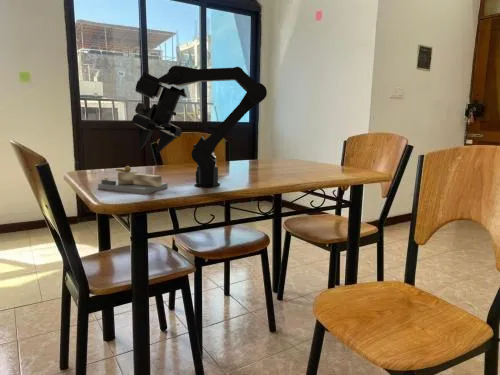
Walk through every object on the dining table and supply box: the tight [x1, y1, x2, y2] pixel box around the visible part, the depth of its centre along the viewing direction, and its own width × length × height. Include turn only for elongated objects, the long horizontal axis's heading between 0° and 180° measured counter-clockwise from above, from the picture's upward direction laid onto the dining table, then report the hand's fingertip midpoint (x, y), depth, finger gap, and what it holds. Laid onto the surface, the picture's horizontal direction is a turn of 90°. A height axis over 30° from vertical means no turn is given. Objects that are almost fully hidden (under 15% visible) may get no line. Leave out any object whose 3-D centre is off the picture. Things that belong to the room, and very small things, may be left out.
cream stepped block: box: [115, 165, 163, 187], centre depth 116 cm, size 16×6×5 cm, turn 66°
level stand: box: [97, 175, 169, 195], centre depth 119 cm, size 18×11×4 cm, turn 66°
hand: (148, 150), depth 123 cm, fingers open, 9 cm apart
